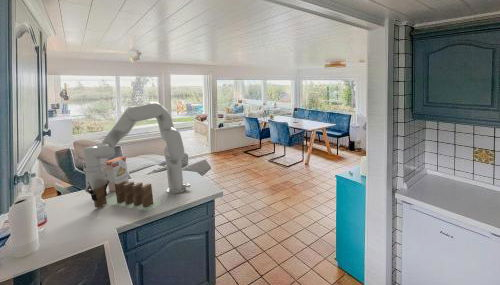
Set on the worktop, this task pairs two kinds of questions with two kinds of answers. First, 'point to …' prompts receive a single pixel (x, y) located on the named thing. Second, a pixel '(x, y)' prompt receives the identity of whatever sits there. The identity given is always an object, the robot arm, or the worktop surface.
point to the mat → (132, 204)
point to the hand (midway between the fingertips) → (99, 197)
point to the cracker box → (116, 172)
